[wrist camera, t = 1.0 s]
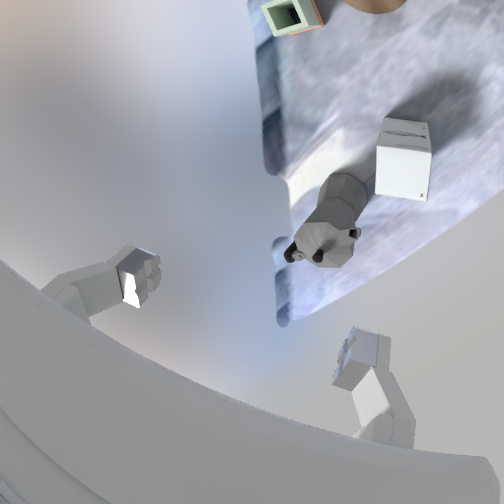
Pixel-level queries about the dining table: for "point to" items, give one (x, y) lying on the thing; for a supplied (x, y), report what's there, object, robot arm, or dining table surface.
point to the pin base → (375, 5)
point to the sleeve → (283, 21)
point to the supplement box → (403, 159)
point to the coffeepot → (331, 224)
